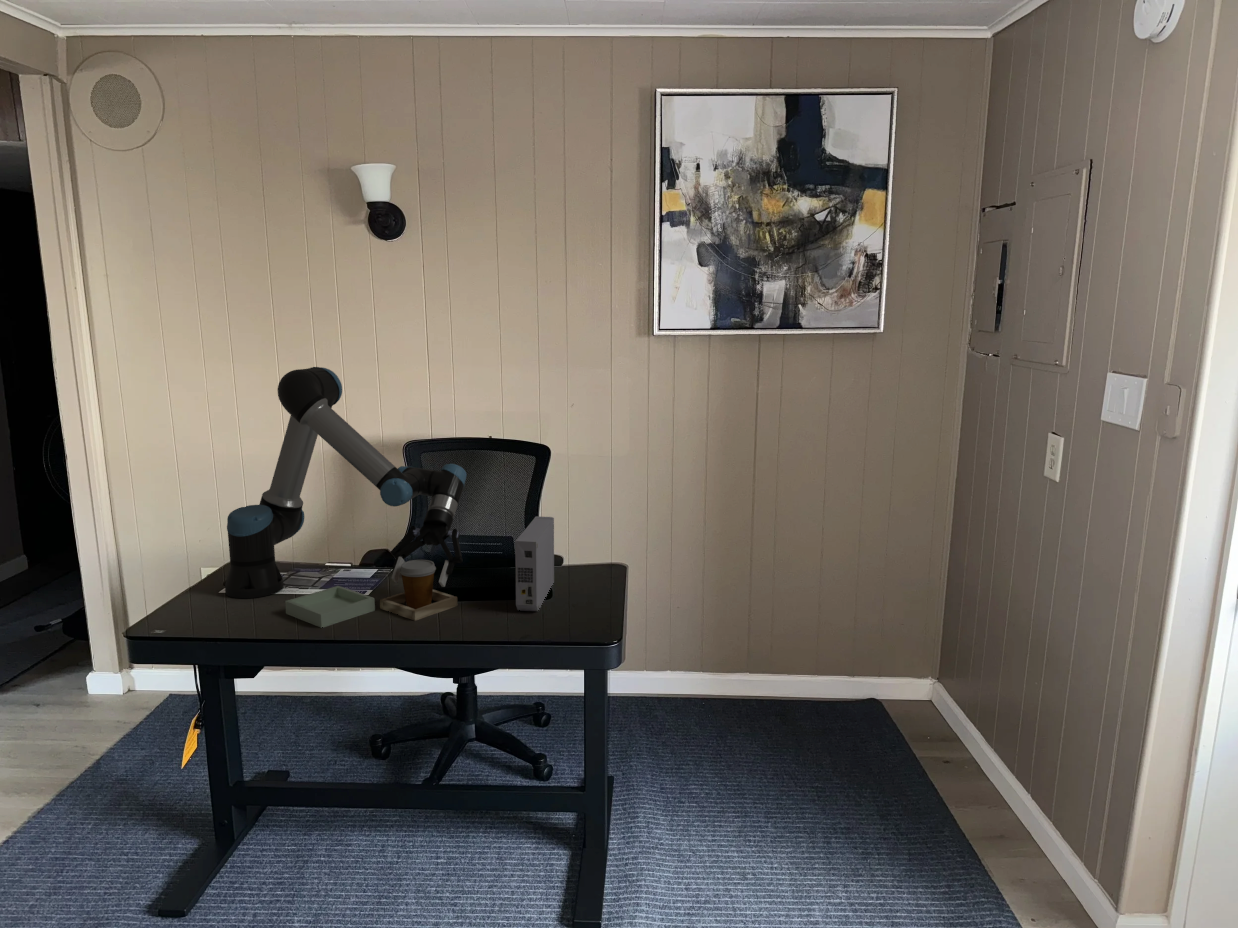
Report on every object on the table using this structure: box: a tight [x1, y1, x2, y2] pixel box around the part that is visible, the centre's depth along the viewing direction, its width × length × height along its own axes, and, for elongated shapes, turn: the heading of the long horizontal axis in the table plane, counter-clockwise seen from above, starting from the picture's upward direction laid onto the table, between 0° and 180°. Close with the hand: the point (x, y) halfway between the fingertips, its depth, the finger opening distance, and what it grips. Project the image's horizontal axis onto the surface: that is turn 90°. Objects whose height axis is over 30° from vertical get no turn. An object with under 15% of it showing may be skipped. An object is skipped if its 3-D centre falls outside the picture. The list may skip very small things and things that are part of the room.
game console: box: [514, 515, 555, 612], centre depth 231 cm, size 6×27×20 cm, turn 174°
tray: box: [284, 585, 376, 629], centre depth 219 cm, size 16×16×4 cm
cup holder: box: [379, 589, 458, 622], centre depth 224 cm, size 14×14×2 cm
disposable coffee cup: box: [399, 559, 437, 609], centre depth 223 cm, size 10×10×12 cm
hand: (417, 582), depth 221 cm, fingers open, 13 cm apart
